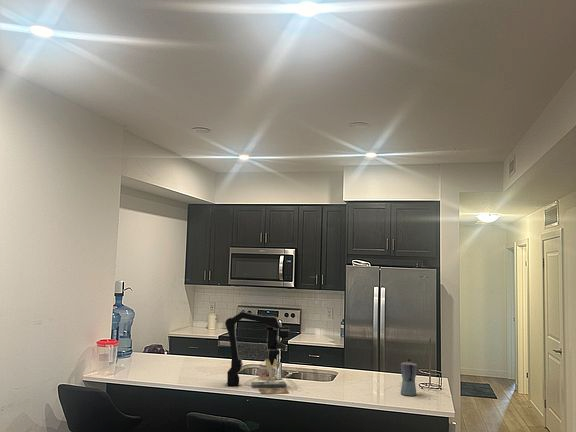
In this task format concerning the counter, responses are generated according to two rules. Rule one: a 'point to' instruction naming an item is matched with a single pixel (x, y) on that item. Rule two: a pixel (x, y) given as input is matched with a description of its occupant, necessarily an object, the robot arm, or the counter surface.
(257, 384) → the plane body
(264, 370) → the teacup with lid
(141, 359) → the counter surface
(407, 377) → the moka pot
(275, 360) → the lever cap
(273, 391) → the walnut board
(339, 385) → the counter surface
